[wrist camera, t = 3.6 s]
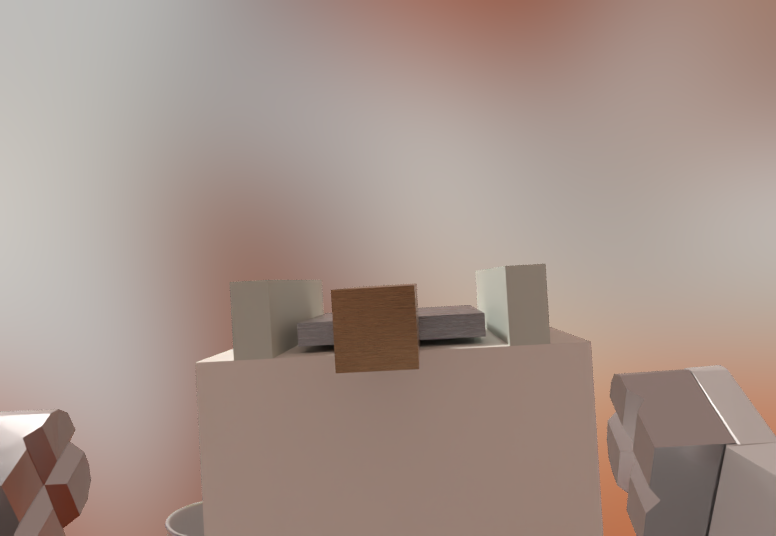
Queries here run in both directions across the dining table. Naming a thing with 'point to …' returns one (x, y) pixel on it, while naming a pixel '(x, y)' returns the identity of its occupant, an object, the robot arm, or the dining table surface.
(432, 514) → the tall box with rails
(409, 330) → the brown block on plate
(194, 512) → the teacup
